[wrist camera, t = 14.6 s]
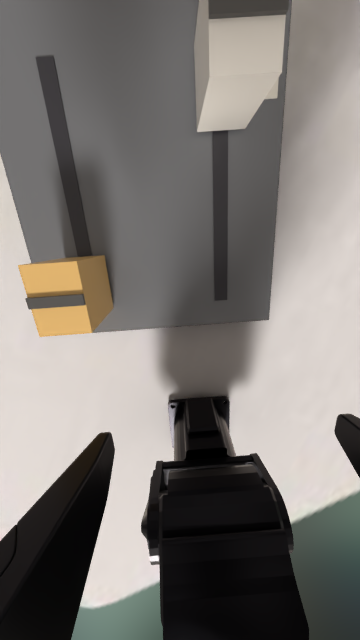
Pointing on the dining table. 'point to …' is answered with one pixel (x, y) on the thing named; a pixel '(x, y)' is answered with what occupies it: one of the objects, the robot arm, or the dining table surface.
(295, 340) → the dining table surface
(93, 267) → the block
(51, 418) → the dining table surface
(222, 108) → the fader
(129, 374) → the dining table surface
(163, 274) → the console
